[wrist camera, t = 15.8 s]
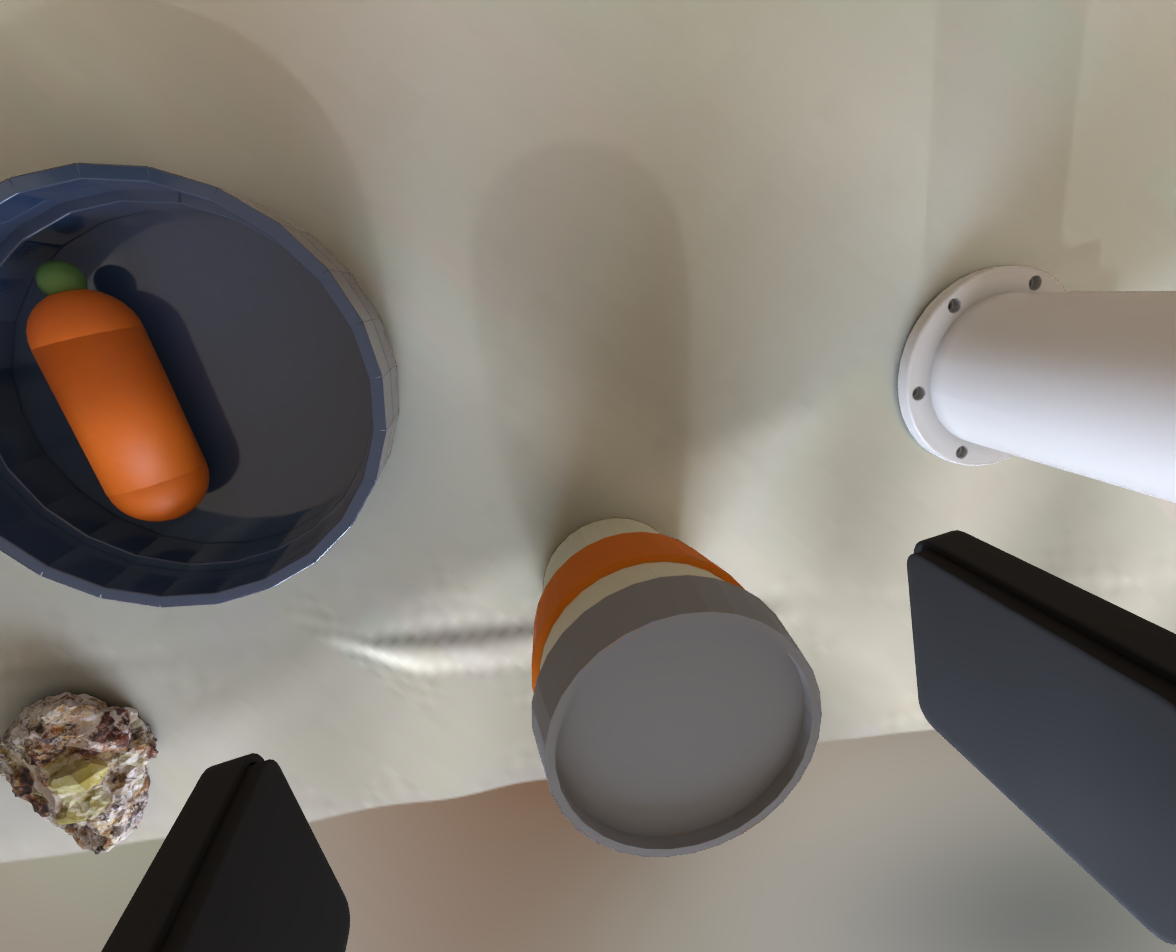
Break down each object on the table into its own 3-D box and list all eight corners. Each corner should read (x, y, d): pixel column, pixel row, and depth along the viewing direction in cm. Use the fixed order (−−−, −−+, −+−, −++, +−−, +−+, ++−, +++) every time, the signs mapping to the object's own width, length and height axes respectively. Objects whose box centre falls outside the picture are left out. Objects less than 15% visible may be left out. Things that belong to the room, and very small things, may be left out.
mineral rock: (-64, 728, 33) (71, 725, 32) (15, 675, 37) (137, 671, 36) (20, 876, 36) (143, 877, 35) (84, 812, 40) (196, 812, 39)
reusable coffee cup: (507, 669, 40) (525, 872, 26) (522, 485, 37) (551, 602, 23) (690, 667, 43) (797, 852, 29) (718, 495, 40) (855, 606, 25)
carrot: (220, 511, 30) (117, 546, 29) (227, 493, 34) (137, 522, 33) (95, 243, 26) (-31, 265, 25) (119, 256, 30) (11, 276, 29)
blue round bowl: (249, 112, 30) (196, 69, 24) (466, 447, 36) (464, 475, 30) (-103, 314, 29) (-241, 319, 24) (177, 615, 36) (121, 676, 30)
